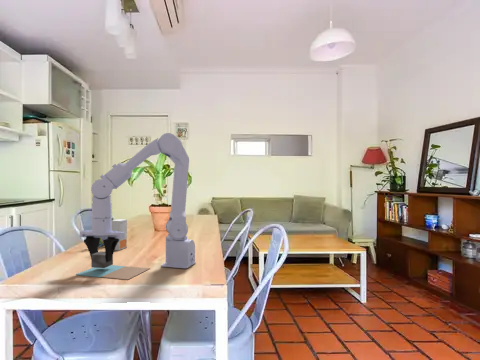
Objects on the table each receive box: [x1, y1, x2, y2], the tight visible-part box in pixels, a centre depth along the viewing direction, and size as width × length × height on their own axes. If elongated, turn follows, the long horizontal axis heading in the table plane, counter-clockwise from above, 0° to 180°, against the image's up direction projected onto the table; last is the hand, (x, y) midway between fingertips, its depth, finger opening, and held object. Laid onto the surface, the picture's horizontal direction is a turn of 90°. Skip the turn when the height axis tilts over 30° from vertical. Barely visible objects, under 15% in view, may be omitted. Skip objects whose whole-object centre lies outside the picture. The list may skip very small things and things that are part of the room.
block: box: [90, 250, 114, 268], centre depth 104 cm, size 4×4×4 cm
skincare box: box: [112, 218, 128, 251], centre depth 136 cm, size 6×4×12 cm
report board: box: [75, 264, 151, 281], centre depth 103 cm, size 18×12×1 cm, turn 75°
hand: (101, 260), depth 104 cm, fingers closed on block, 4 cm apart
